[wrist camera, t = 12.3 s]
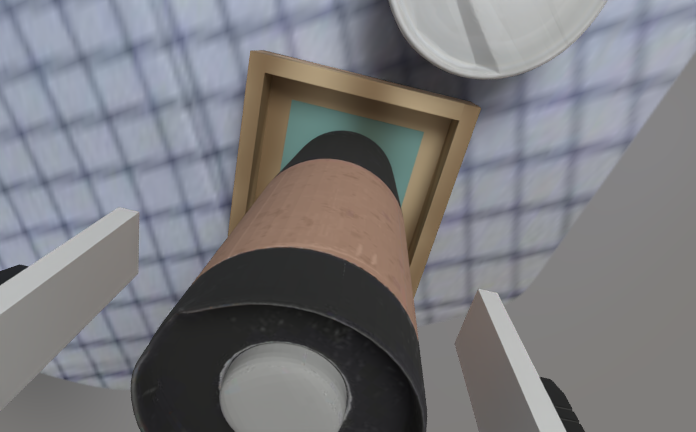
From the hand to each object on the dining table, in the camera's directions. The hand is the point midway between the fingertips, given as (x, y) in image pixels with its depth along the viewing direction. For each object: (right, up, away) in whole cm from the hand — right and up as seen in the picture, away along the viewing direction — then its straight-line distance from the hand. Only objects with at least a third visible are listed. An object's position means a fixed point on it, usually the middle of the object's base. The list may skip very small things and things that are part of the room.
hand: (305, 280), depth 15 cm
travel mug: (+1, +5, +13) cm, 14 cm away
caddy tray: (+1, +5, +14) cm, 15 cm away
